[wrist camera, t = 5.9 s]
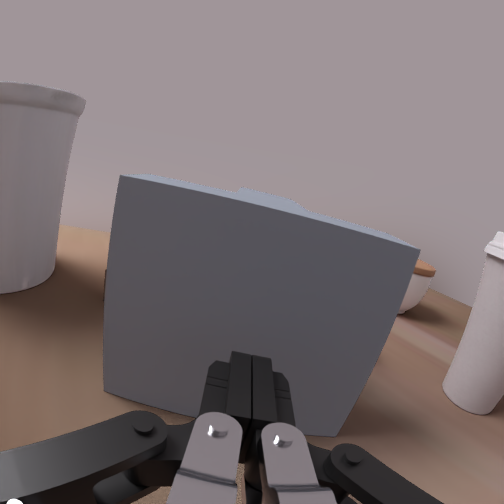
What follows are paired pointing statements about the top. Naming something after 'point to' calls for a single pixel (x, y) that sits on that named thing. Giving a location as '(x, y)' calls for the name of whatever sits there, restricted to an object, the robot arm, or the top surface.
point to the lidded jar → (417, 285)
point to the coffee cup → (482, 342)
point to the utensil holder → (32, 178)
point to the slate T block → (245, 296)
